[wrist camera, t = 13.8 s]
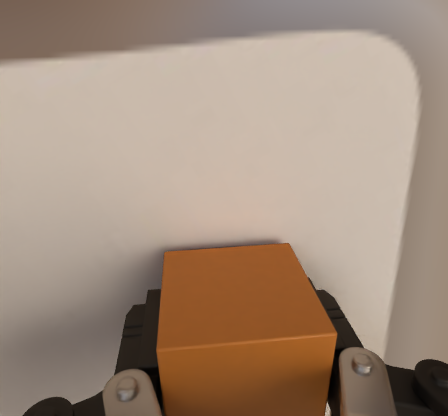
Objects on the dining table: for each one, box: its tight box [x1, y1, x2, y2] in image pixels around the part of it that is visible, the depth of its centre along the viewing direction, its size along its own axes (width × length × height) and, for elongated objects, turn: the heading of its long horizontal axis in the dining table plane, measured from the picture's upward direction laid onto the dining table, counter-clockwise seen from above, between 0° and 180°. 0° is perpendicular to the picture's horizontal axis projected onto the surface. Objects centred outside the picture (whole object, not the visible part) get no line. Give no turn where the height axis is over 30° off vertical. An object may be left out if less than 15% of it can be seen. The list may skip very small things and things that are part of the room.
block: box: [156, 243, 337, 416], centre depth 12 cm, size 5×5×5 cm
